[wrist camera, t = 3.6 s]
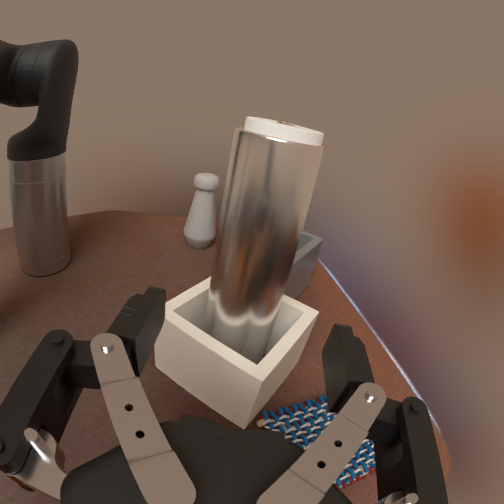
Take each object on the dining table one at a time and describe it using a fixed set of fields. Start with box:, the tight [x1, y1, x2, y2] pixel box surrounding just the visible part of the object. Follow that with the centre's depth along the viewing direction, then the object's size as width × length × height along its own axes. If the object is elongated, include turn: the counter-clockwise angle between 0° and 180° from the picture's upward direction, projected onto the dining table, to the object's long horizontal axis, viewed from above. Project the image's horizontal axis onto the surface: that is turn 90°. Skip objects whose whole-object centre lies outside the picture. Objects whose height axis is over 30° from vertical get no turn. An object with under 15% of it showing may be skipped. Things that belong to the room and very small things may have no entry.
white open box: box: [154, 277, 319, 429], centre depth 30 cm, size 11×11×8 cm
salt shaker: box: [184, 173, 219, 249], centre depth 52 cm, size 6×6×13 cm
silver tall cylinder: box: [204, 117, 324, 365], centre depth 26 cm, size 6×6×25 cm
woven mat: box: [257, 395, 376, 491], centre depth 24 cm, size 10×11×2 cm
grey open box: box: [284, 230, 324, 300], centre depth 45 cm, size 11×11×8 cm
